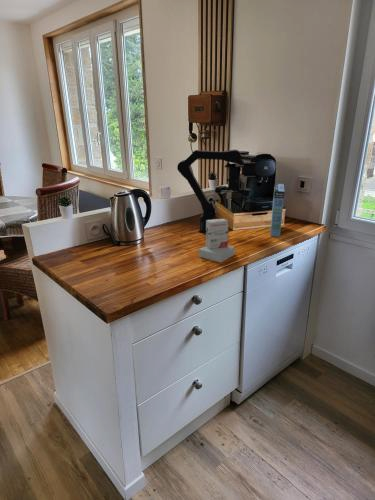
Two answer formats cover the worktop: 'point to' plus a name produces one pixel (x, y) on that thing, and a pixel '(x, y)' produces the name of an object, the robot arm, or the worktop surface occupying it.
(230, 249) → the base block
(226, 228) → the ink box
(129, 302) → the worktop surface
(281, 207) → the gum box
